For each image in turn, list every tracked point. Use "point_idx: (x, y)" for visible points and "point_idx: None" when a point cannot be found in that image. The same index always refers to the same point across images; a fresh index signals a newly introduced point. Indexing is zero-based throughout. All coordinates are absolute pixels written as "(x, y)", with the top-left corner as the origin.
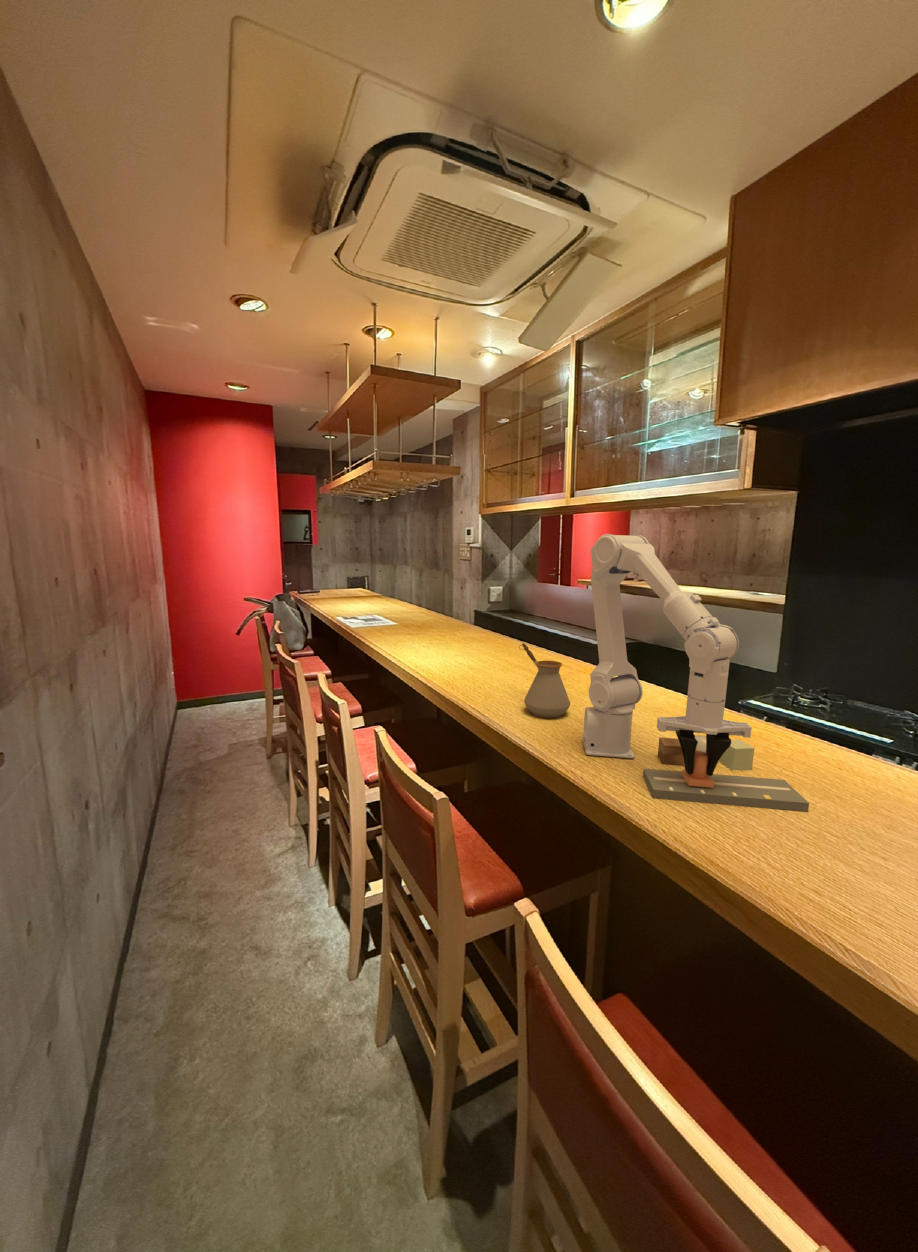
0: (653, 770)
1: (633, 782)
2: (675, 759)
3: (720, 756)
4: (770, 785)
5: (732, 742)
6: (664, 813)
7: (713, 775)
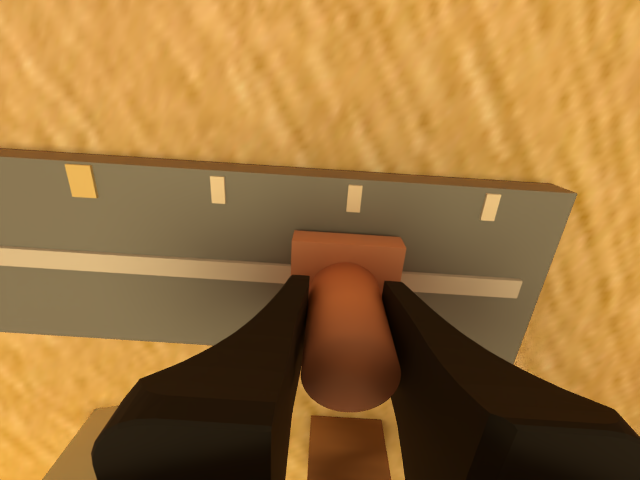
0: None
1: (560, 296)
2: (342, 436)
3: (242, 328)
4: (47, 283)
5: None
6: (575, 49)
7: None
